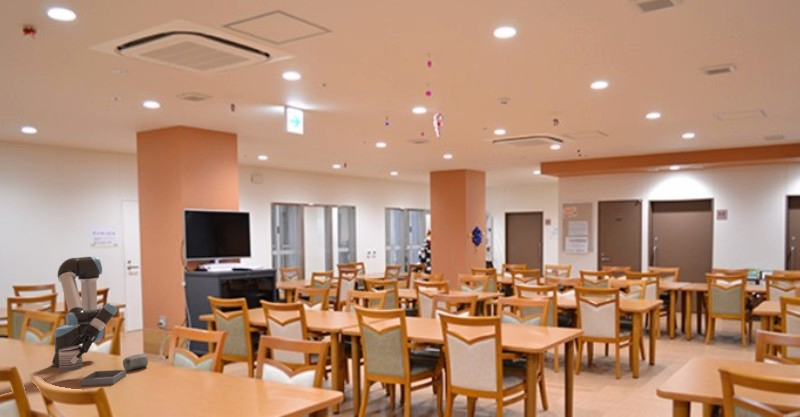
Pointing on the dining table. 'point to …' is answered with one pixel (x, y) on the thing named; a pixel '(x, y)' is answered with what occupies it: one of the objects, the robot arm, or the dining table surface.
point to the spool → (135, 362)
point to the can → (69, 359)
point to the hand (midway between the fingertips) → (67, 361)
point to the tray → (103, 377)
